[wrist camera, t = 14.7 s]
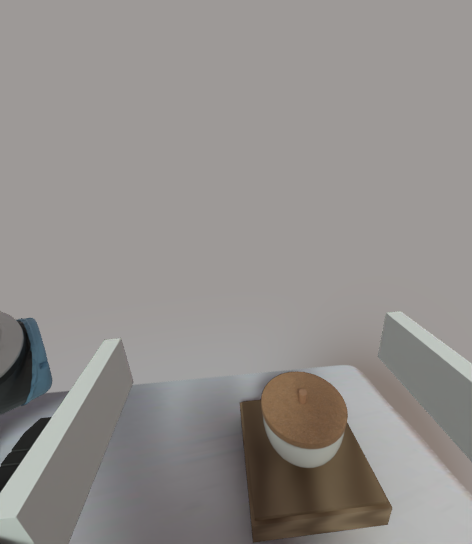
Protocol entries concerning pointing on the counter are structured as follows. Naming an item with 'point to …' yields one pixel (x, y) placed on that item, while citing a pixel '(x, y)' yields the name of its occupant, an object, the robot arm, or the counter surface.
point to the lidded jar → (303, 418)
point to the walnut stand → (307, 487)
